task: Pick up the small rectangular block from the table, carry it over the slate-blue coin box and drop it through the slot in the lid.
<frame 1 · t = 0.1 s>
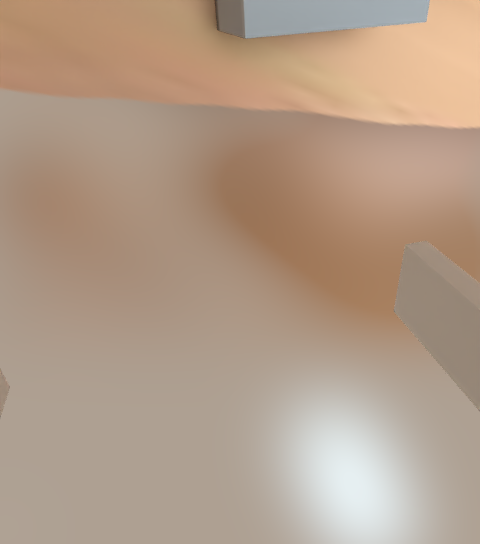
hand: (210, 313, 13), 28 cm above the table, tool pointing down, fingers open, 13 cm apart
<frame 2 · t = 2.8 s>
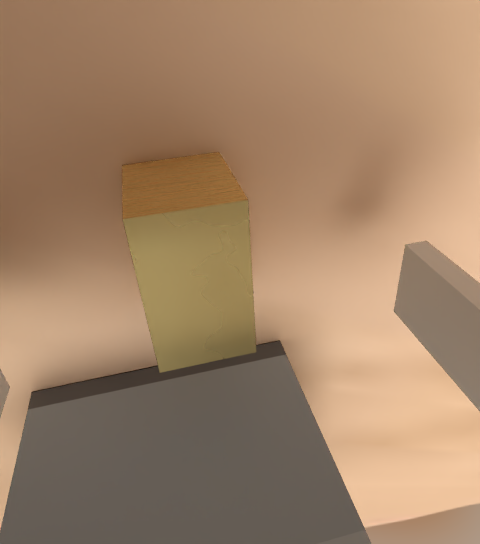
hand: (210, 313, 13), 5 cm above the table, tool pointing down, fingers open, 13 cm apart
coin box: (181, 450, 24), on the table
rectangular block: (182, 230, 17), on the table
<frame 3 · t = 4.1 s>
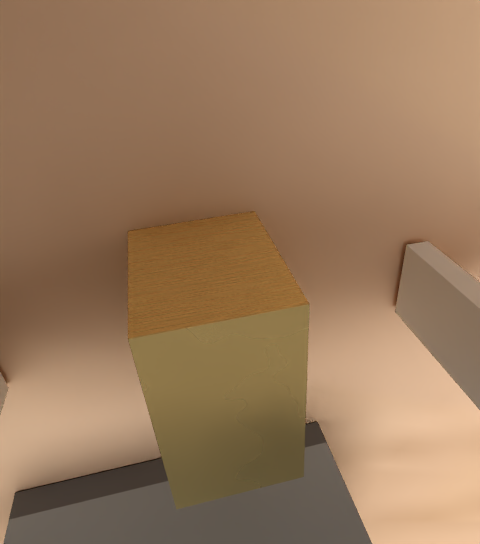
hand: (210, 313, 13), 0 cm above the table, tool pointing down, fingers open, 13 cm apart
coin box: (195, 540, 21), on the table
rectangular block: (204, 304, 13), on the table
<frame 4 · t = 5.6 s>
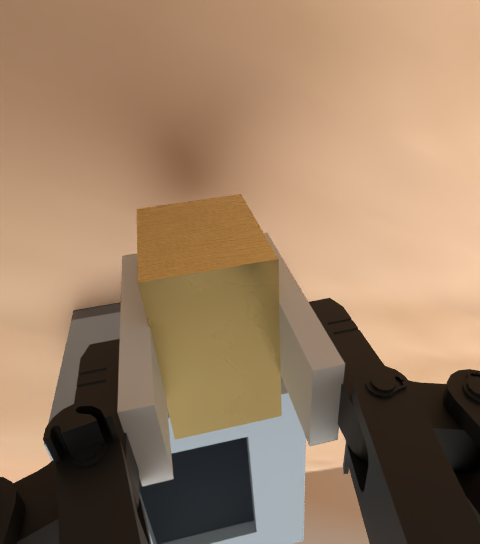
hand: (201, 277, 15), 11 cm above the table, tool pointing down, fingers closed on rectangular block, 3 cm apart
coin box: (183, 372, 31), on the table
rectangular block: (200, 276, 16), point 10 cm above the table, touching gripper
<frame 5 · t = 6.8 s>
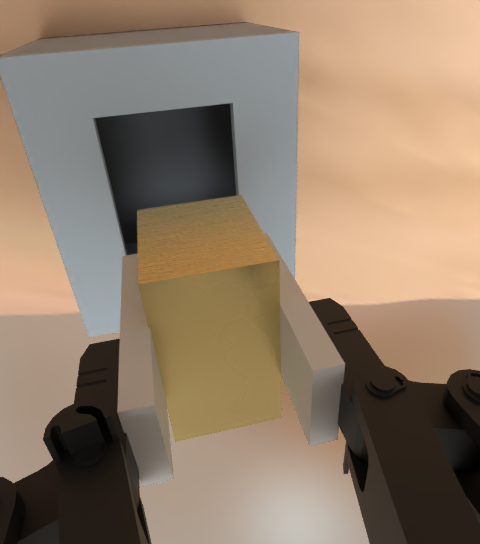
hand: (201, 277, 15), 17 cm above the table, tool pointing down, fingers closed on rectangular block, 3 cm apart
coin box: (164, 147, 29), on the table
rectangular block: (200, 277, 16), point 16 cm above the table, touching gripper
when the fingers open (11 cm above the table, at t = 8.1 s): rectangular block drops 8 cm and tips over, resting on coin box.
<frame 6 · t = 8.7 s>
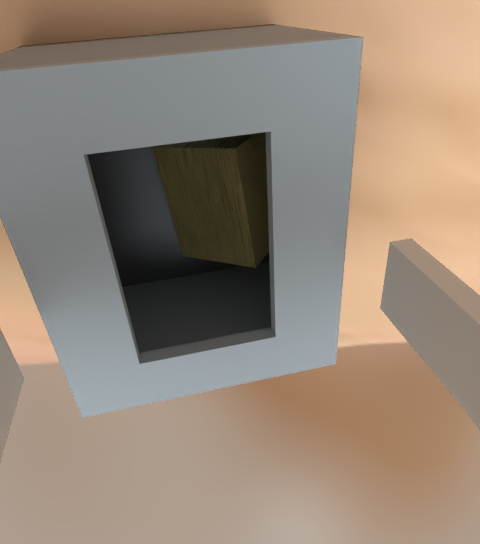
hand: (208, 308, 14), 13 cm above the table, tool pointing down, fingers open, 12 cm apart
coin box: (174, 174, 24), on the table
rectangular block: (187, 190, 22), point 2 cm above the table, tilted 49°, touching coin box
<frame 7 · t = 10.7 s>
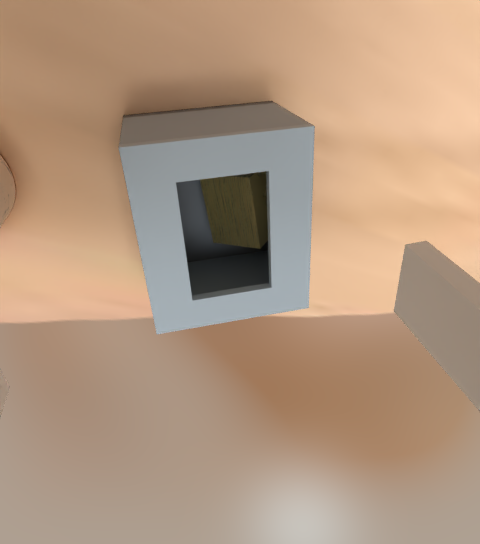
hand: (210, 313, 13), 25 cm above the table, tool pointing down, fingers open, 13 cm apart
coin box: (207, 191, 38), on the table
rectangular block: (217, 201, 36), point 2 cm above the table, tilted 49°, touching coin box
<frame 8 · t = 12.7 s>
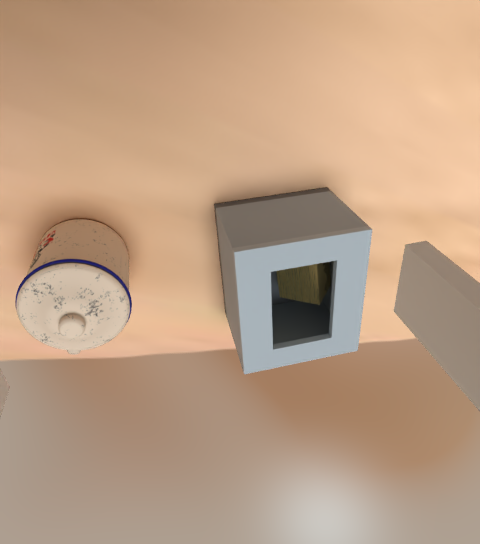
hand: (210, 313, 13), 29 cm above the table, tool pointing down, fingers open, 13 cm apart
teacup with lid: (83, 268, 43), on the table
coin box: (273, 254, 47), on the table
rectangular block: (283, 265, 45), point 2 cm above the table, tilted 49°, touching coin box
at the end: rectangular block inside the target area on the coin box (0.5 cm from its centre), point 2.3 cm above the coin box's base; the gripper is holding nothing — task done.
